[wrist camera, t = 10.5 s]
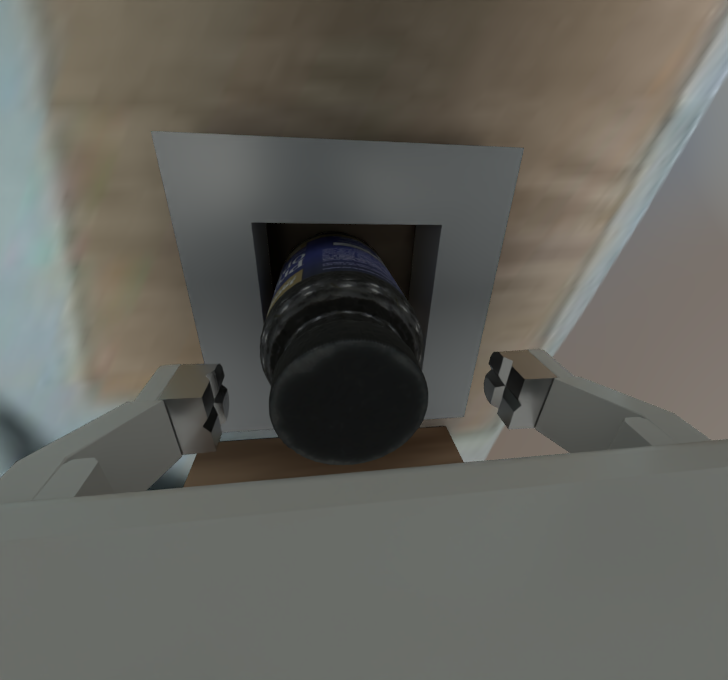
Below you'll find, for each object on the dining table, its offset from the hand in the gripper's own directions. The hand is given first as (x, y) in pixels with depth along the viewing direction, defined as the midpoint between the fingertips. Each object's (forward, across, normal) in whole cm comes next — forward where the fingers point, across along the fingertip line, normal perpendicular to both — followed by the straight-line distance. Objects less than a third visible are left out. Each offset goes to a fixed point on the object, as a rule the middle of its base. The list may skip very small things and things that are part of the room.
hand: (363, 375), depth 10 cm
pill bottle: (+10, 0, +1) cm, 10 cm away
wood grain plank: (+10, +1, +11) cm, 15 cm away
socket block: (+10, 0, +1) cm, 10 cm away
